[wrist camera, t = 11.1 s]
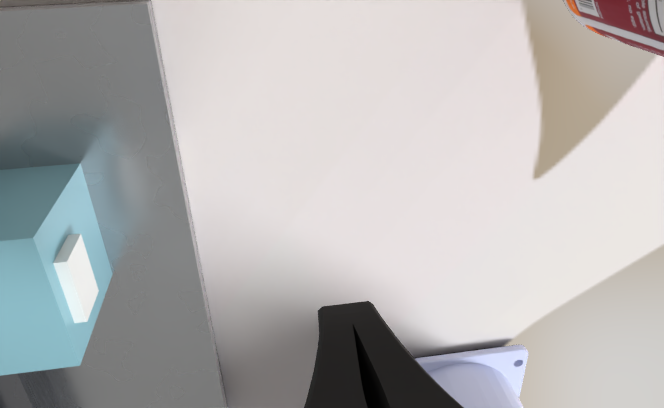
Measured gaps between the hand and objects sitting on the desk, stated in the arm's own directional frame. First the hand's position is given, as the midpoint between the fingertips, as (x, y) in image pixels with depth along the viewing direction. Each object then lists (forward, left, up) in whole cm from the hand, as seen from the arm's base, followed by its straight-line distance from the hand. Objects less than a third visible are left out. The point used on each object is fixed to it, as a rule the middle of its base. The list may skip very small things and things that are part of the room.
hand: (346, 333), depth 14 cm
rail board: (-4, +10, -9) cm, 14 cm away
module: (-1, +10, -8) cm, 13 cm away
